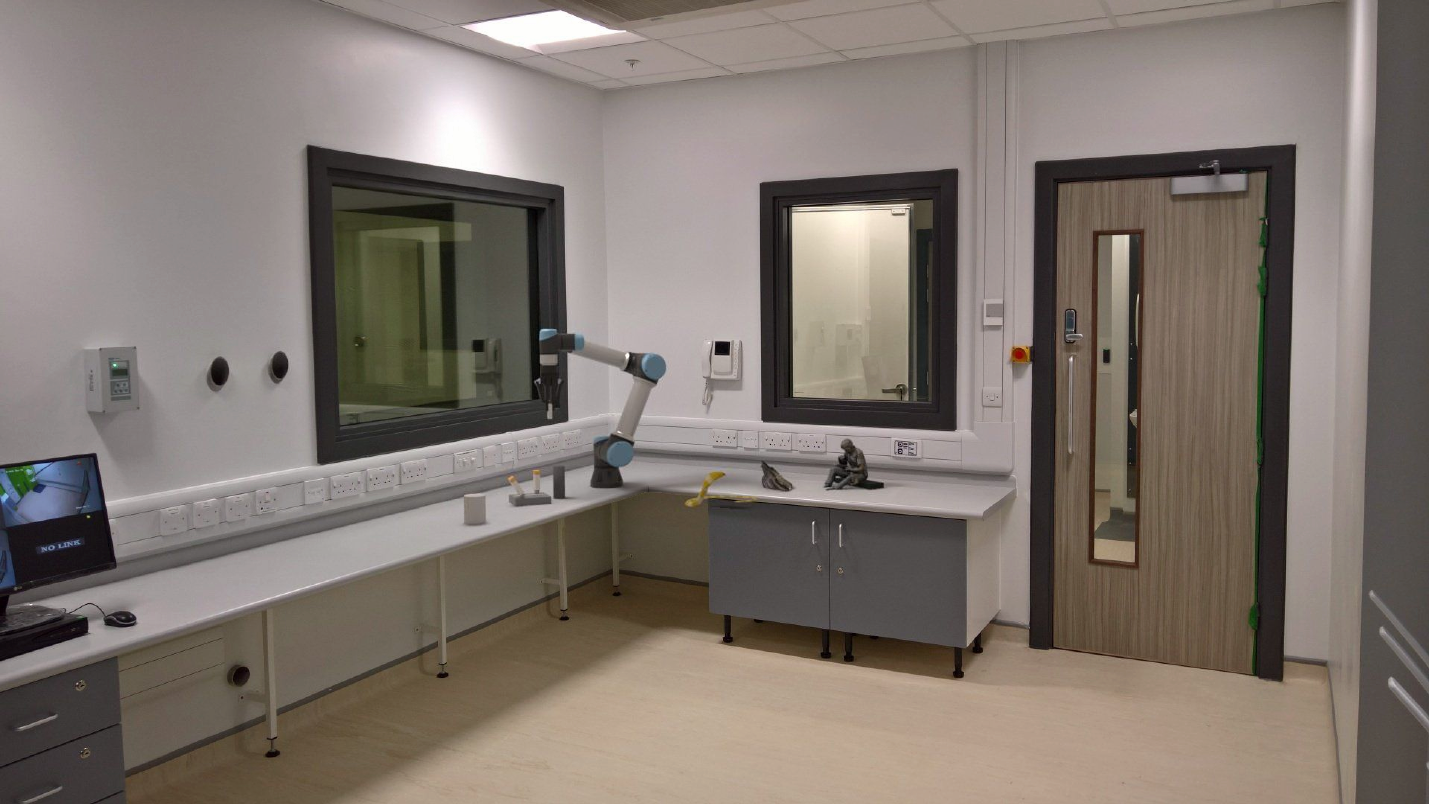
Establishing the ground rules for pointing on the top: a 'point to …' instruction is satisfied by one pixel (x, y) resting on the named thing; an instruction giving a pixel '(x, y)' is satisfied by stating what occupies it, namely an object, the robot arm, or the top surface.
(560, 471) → the post
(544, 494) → the grey tube rack
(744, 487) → the top surface
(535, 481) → the paddle
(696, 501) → the toy
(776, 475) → the brown ridged tapered piece
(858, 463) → the figurine
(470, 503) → the light grey upright cylinder
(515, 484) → the paddle
